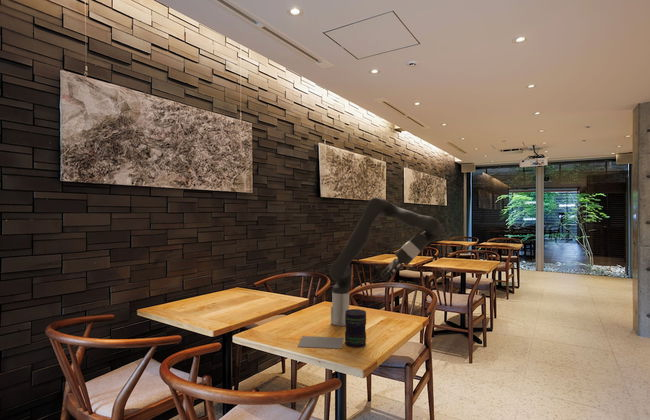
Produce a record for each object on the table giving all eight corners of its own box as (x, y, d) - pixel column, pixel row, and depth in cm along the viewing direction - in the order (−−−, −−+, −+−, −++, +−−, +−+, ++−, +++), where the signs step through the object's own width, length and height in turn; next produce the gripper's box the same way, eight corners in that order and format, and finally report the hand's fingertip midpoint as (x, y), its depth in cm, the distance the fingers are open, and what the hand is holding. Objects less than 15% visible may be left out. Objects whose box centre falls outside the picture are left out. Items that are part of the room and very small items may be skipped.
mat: (297, 347, 167) (297, 346, 167) (302, 336, 181) (302, 336, 181) (341, 348, 165) (341, 348, 165) (343, 338, 179) (343, 337, 179)
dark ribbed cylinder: (342, 341, 175) (342, 309, 175) (361, 339, 178) (362, 308, 178) (348, 348, 166) (348, 315, 166) (369, 347, 168) (369, 314, 168)
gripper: (399, 245, 177) (375, 269, 178) (403, 248, 163) (377, 274, 164) (411, 256, 177) (387, 280, 178) (416, 260, 163) (389, 286, 163)
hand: (382, 277), depth 171 cm, fingers open, 8 cm apart
